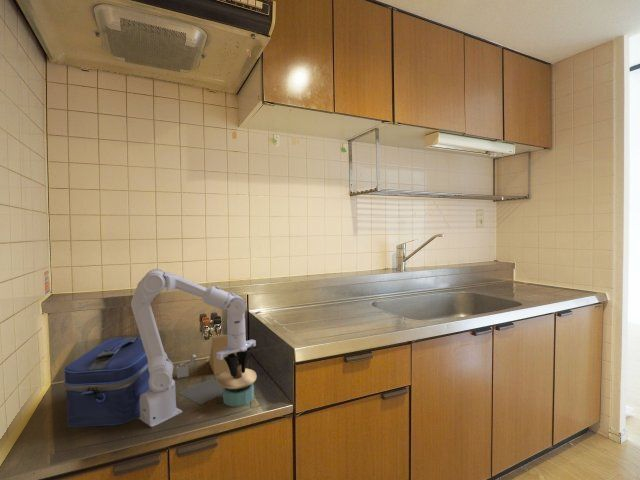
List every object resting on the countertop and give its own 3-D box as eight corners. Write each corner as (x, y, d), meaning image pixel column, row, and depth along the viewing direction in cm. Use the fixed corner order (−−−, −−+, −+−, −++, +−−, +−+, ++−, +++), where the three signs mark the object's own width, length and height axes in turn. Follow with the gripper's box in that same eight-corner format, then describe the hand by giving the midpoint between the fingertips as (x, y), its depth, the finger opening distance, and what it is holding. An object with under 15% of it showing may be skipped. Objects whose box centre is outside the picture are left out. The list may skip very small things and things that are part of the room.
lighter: (177, 379, 127) (176, 358, 126) (176, 377, 128) (176, 356, 128) (197, 375, 129) (196, 355, 129) (196, 373, 131) (196, 353, 131)
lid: (234, 393, 102) (234, 377, 102) (209, 380, 109) (209, 366, 109) (264, 377, 112) (264, 363, 112) (239, 366, 119) (239, 353, 119)
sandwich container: (228, 357, 147) (227, 323, 146) (236, 371, 133) (235, 333, 132) (208, 361, 143) (206, 326, 142) (213, 375, 129) (212, 337, 128)
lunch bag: (129, 431, 95) (125, 360, 94) (48, 438, 93) (44, 364, 92) (167, 380, 125) (165, 326, 125) (108, 384, 124) (105, 329, 123)
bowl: (236, 410, 104) (236, 396, 104) (217, 401, 110) (216, 388, 110) (259, 397, 112) (259, 384, 112) (240, 389, 117) (240, 376, 117)
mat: (200, 405, 107) (200, 404, 107) (178, 394, 115) (178, 393, 115) (233, 389, 118) (233, 388, 118) (210, 379, 126) (210, 378, 126)
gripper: (226, 341, 101) (227, 385, 102) (261, 329, 113) (262, 368, 114) (211, 337, 106) (213, 379, 106) (247, 325, 117) (248, 363, 118)
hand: (237, 373), depth 110 cm, fingers closed on lid, 3 cm apart
